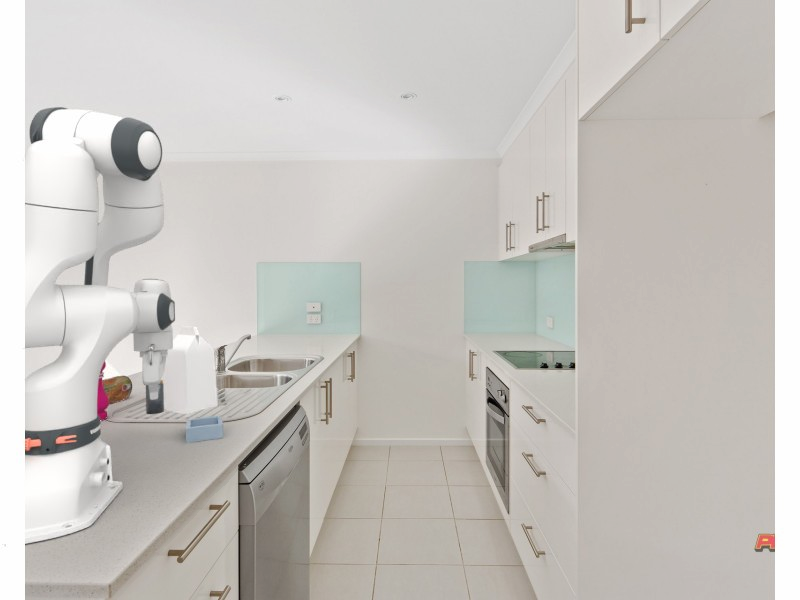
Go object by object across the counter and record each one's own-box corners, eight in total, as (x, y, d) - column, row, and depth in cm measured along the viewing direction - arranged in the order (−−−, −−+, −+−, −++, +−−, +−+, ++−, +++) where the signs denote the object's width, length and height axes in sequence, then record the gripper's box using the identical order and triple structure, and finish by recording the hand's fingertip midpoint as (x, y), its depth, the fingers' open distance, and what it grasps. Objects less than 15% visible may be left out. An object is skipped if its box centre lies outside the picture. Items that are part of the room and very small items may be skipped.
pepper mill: (94, 424, 125) (92, 353, 124) (72, 422, 126) (71, 352, 125) (115, 416, 132) (114, 349, 131) (94, 415, 133) (93, 348, 132)
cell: (163, 412, 112) (162, 379, 112) (145, 415, 111) (144, 380, 111) (164, 409, 116) (163, 376, 116) (147, 411, 114) (146, 378, 114)
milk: (160, 409, 139) (159, 327, 138) (192, 401, 150) (191, 324, 149) (187, 414, 134) (185, 328, 133) (217, 405, 144) (216, 325, 144)
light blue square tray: (222, 437, 113) (222, 424, 113) (185, 442, 110) (185, 428, 110) (221, 428, 121) (221, 415, 121) (186, 432, 117) (186, 419, 117)
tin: (94, 409, 140) (93, 382, 139) (86, 408, 140) (85, 382, 140) (133, 397, 154) (133, 373, 154) (125, 397, 155) (125, 373, 155)
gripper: (165, 345, 105) (166, 403, 105) (169, 339, 124) (170, 388, 124) (134, 347, 103) (136, 407, 103) (143, 340, 121) (144, 391, 121)
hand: (155, 396), depth 113 cm, fingers closed on cell, 4 cm apart
